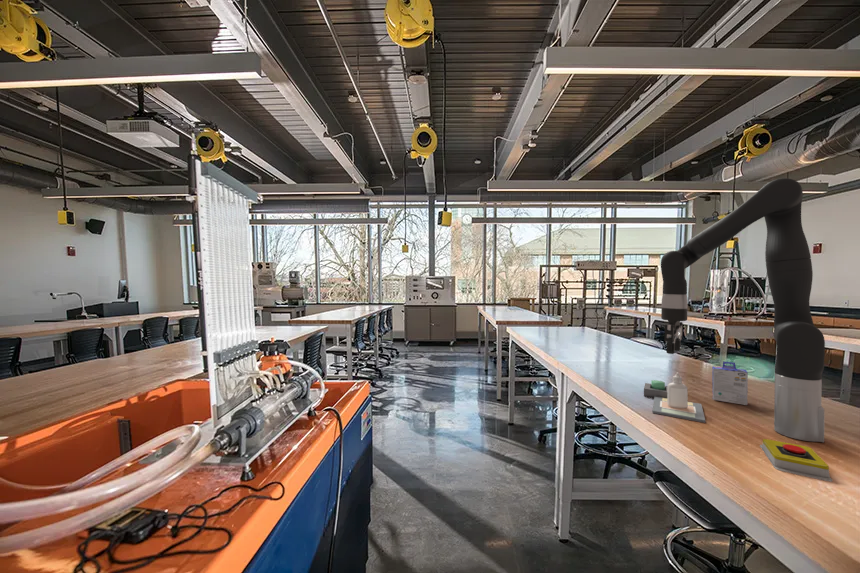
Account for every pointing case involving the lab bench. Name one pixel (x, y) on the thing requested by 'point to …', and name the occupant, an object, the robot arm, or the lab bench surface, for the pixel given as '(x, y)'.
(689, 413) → the colouring board
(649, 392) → the button housing
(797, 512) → the lab bench surface
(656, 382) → the button
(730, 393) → the ink cartridge box
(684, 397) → the eye dropper bottle
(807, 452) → the emergency button
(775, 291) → the robot arm
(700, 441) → the lab bench surface
